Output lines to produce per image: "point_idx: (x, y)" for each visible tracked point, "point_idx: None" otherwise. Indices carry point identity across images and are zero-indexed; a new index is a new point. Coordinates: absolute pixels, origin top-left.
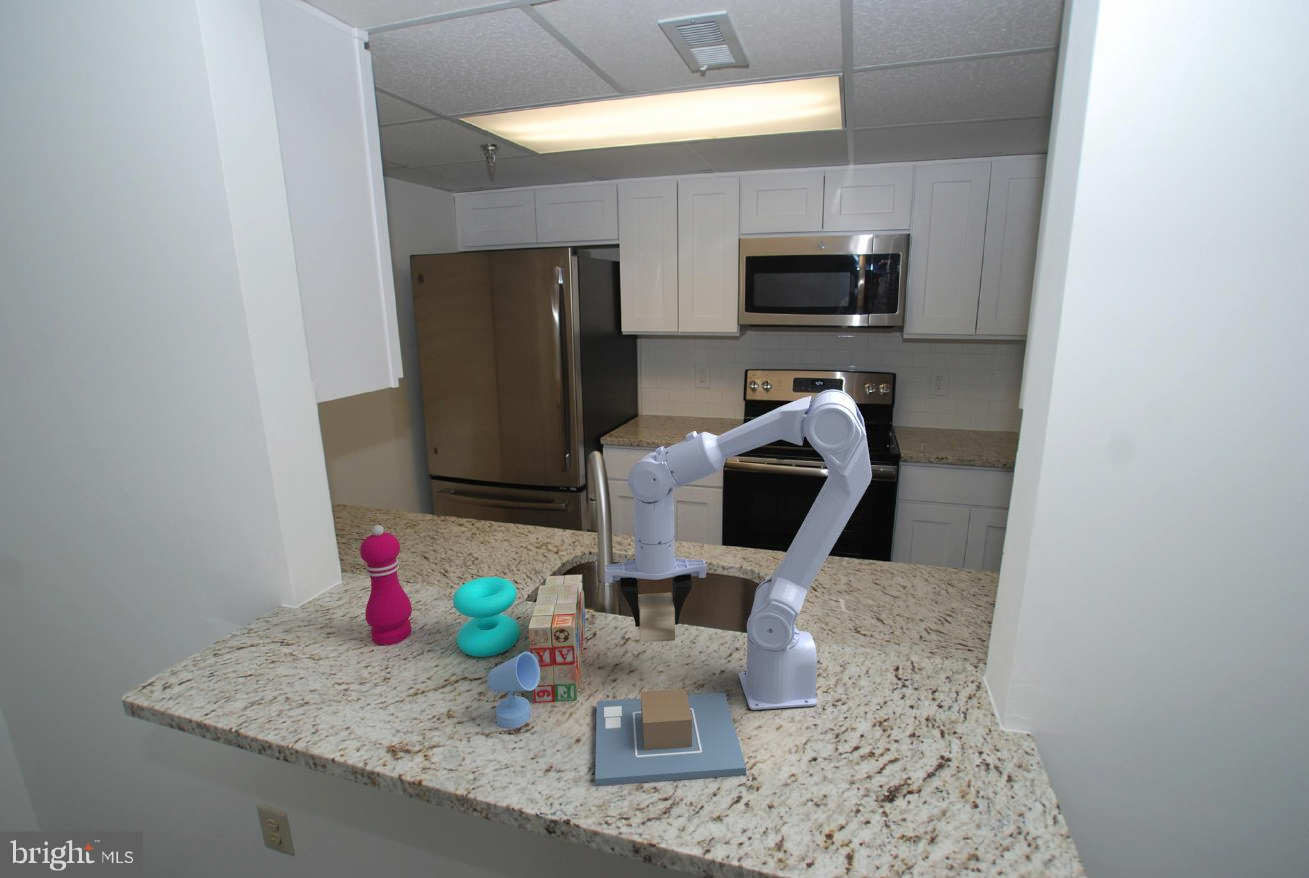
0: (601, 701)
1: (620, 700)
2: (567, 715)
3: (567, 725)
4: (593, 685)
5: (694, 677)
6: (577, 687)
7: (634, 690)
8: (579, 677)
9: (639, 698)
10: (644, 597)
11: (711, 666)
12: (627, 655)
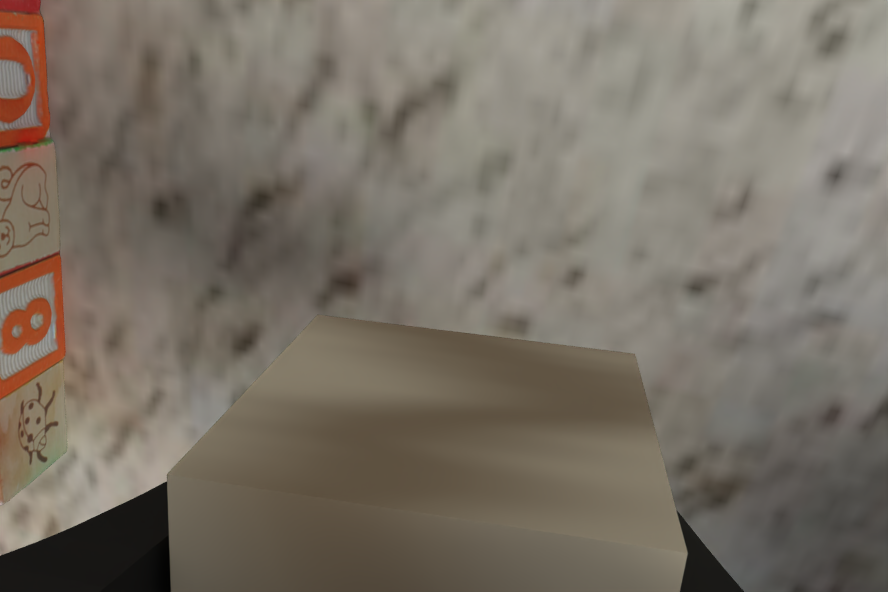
0: None
1: None
2: (38, 533)
3: None
4: (136, 359)
5: (700, 420)
6: (38, 434)
7: None
8: (46, 321)
9: None
10: (253, 582)
11: (847, 345)
12: (331, 114)
